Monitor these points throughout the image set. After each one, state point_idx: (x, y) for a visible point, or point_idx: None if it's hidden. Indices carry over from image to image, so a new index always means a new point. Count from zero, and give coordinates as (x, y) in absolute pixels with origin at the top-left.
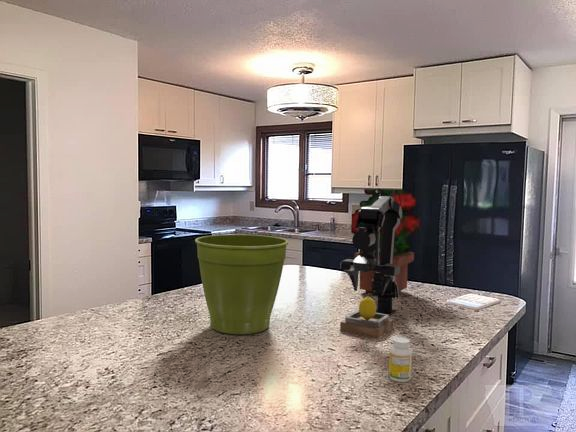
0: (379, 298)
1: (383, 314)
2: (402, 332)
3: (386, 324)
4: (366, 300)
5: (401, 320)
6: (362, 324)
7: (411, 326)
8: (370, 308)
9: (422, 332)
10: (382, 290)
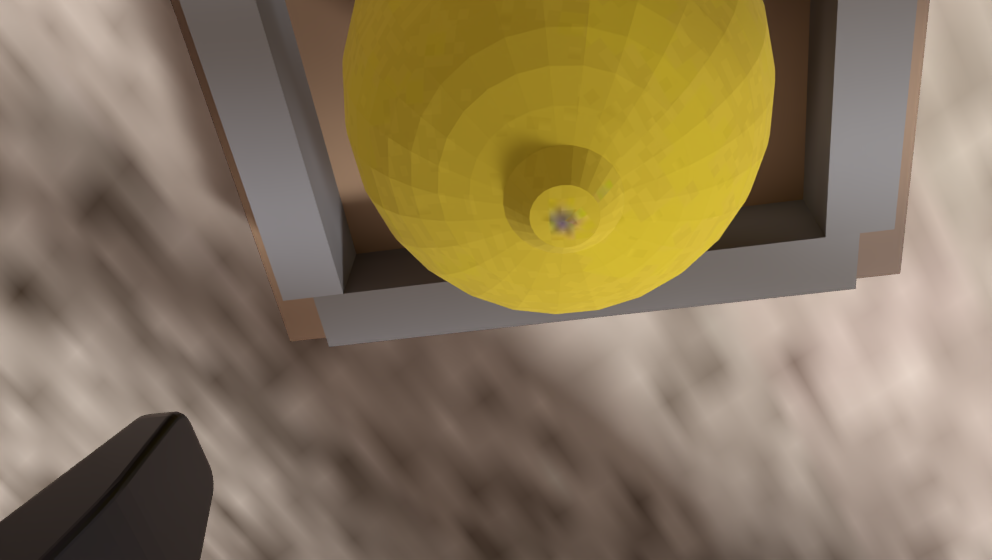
0: None
1: (397, 311)
2: (135, 208)
3: (194, 60)
4: (516, 24)
5: (433, 551)
6: None
7: (229, 454)
8: None
9: (4, 356)
10: (29, 516)
